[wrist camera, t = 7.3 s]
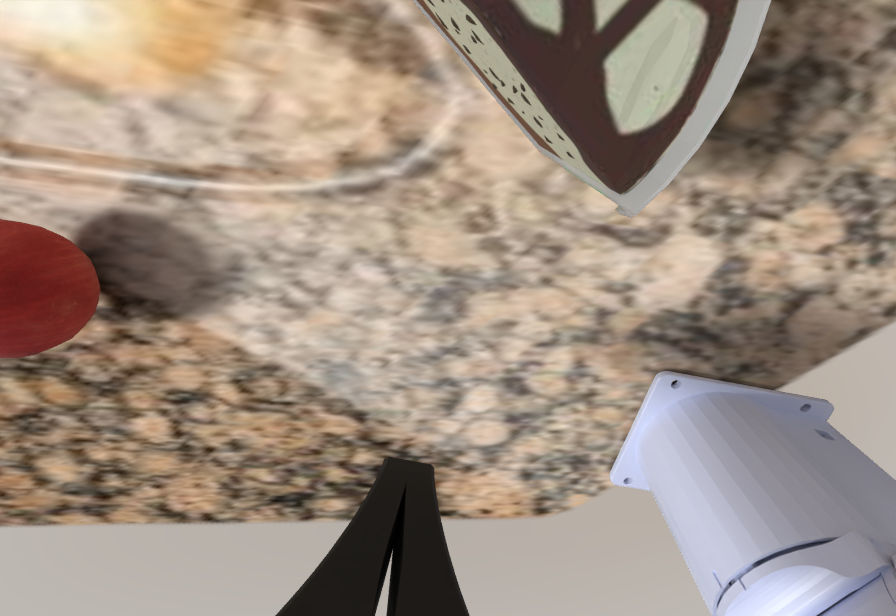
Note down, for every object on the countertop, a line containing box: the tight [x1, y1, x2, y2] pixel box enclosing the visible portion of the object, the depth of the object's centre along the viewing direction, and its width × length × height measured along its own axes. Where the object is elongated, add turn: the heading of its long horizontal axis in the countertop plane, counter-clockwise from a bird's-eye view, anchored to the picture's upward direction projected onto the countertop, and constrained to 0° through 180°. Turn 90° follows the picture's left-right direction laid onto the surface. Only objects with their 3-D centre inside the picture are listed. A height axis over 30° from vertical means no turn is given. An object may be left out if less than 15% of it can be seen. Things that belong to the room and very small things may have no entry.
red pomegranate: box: [0, 219, 100, 358], centre depth 17 cm, size 6×6×8 cm
